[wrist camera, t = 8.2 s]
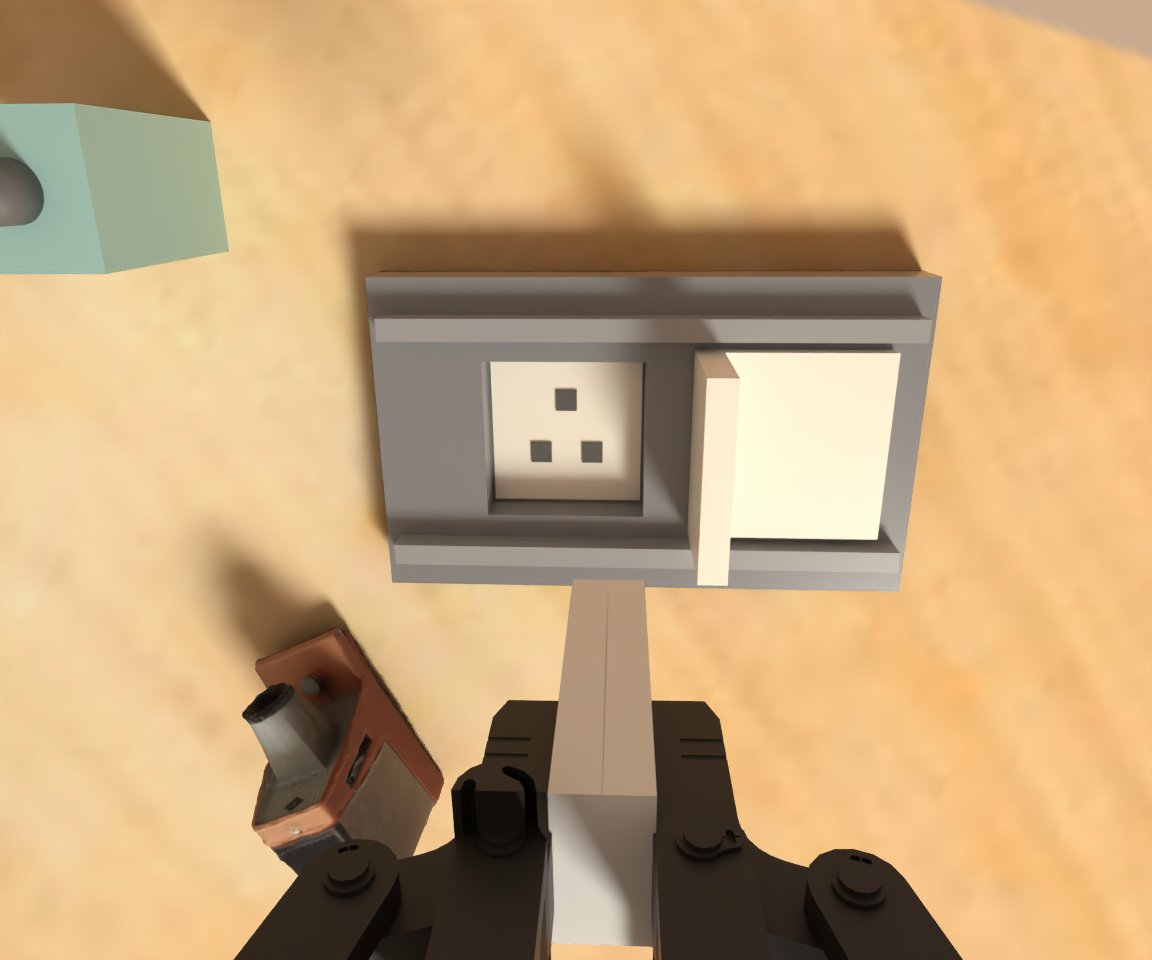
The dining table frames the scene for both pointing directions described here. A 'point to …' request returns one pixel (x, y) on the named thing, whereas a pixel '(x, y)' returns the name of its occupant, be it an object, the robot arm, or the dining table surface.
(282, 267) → the dining table surface
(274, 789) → the electronic device
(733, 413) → the shutter
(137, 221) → the teal bottle
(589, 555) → the socket board
